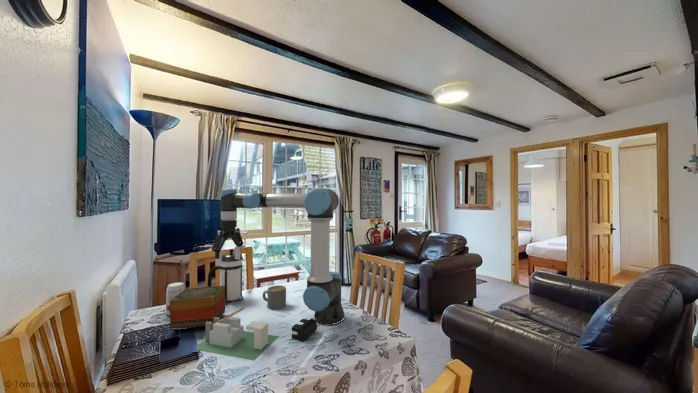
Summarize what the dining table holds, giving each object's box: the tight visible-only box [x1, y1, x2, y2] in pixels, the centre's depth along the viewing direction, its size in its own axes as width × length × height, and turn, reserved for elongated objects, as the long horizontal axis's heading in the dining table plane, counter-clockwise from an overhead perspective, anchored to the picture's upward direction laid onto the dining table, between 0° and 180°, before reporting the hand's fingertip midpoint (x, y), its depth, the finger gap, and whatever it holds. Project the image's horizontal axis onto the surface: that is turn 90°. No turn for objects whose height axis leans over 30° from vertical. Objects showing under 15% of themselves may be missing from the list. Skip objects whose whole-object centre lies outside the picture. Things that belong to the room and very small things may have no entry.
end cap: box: [291, 318, 318, 343], centre depth 118 cm, size 10×7×7 cm
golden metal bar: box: [212, 307, 244, 328], centre depth 114 cm, size 17×3×1 cm, turn 75°
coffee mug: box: [262, 284, 287, 311], centre depth 154 cm, size 13×10×10 cm
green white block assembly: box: [196, 316, 280, 361], centre depth 112 cm, size 28×18×9 cm, turn 75°
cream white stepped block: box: [245, 321, 269, 350], centre depth 110 cm, size 7×5×8 cm
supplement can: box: [165, 281, 186, 317], centre depth 143 cm, size 8×8×15 cm
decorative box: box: [169, 285, 226, 329], centre depth 132 cm, size 20×22×16 cm
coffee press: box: [207, 248, 245, 306], centre depth 160 cm, size 17×16×30 cm
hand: (228, 262), depth 138 cm, fingers open, 13 cm apart
